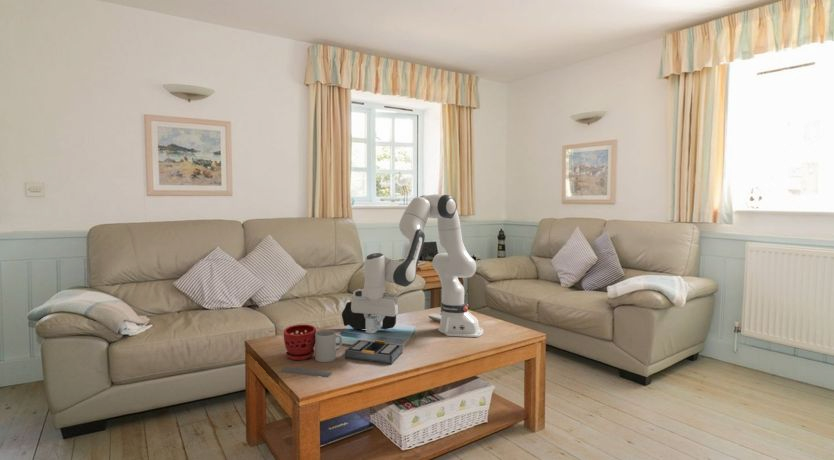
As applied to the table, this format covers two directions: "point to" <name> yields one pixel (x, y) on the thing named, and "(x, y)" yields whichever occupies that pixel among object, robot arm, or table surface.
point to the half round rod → (306, 372)
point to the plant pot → (299, 341)
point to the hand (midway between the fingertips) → (374, 324)
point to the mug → (326, 345)
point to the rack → (374, 351)
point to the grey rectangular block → (373, 323)
